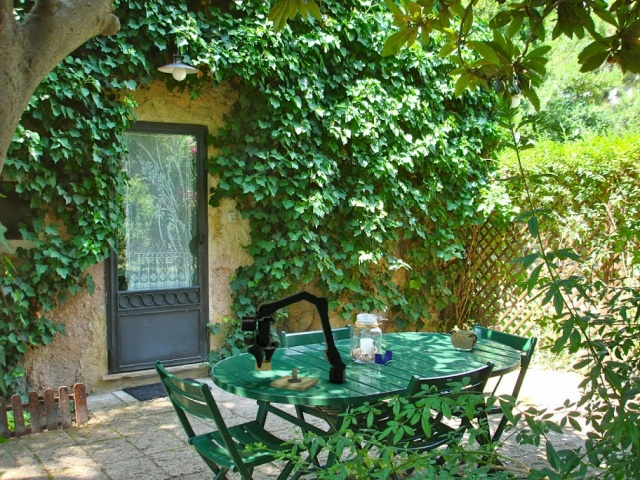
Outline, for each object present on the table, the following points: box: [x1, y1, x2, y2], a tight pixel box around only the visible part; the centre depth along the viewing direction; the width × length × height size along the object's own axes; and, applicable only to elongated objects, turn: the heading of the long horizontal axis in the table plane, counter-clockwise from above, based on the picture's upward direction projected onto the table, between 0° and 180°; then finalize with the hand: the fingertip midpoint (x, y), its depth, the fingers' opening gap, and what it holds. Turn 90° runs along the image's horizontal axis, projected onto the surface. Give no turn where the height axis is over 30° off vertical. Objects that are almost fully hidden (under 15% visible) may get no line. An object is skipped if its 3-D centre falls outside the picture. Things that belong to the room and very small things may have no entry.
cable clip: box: [374, 349, 393, 364], centre depth 326 cm, size 12×4×6 cm, turn 143°
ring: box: [254, 359, 272, 372], centre depth 280 cm, size 7×7×4 cm
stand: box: [269, 367, 319, 392], centre depth 280 cm, size 16×16×7 cm
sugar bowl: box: [450, 324, 478, 349], centre depth 364 cm, size 20×15×15 cm
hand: (263, 366), depth 280 cm, fingers closed on ring, 7 cm apart
